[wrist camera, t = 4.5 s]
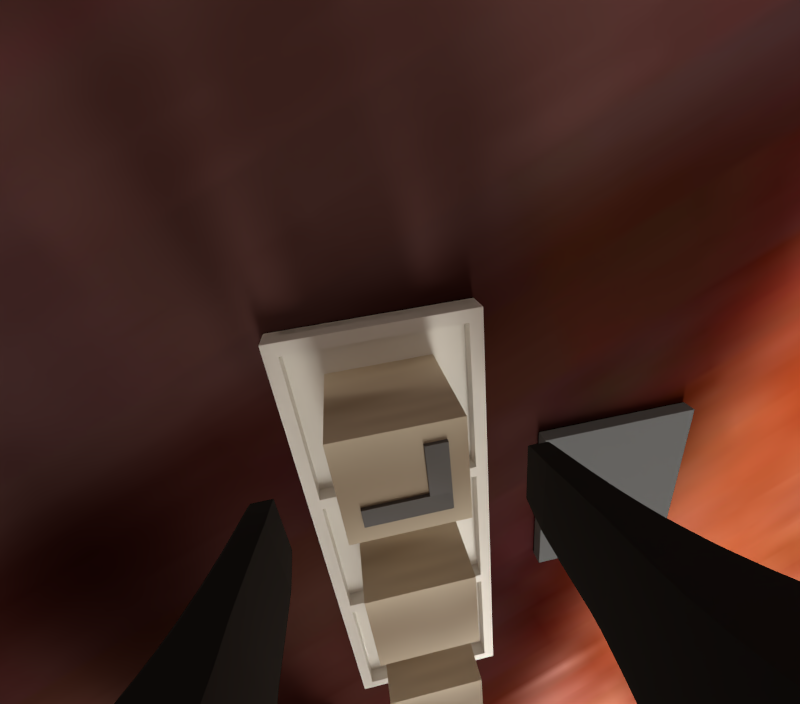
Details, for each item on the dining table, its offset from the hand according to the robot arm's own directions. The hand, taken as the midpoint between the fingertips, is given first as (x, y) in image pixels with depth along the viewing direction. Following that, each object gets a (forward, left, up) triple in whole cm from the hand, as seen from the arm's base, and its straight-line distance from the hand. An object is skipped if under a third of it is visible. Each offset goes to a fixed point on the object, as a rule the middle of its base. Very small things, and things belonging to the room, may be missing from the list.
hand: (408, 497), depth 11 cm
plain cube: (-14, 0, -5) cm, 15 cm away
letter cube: (0, 0, -5) cm, 5 cm away
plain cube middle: (-7, 0, -5) cm, 8 cm away
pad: (-7, -10, -5) cm, 13 cm away
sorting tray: (-7, 0, -5) cm, 9 cm away
